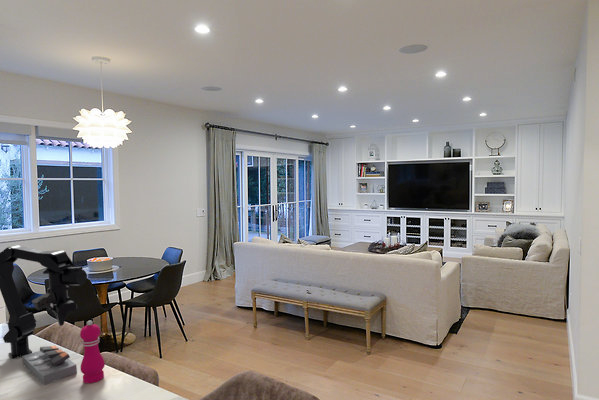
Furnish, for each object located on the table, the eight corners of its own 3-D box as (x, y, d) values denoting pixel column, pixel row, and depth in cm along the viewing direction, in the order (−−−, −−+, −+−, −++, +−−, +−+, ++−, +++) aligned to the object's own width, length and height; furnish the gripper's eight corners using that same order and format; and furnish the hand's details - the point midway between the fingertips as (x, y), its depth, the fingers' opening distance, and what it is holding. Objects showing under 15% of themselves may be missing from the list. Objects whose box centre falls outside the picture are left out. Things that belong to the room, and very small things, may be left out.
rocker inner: (39, 352, 148) (40, 346, 148) (53, 351, 152) (55, 345, 152) (42, 355, 145) (43, 349, 146) (57, 354, 149) (58, 348, 149)
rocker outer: (51, 365, 140) (49, 359, 140) (66, 356, 144) (64, 351, 143) (55, 368, 138) (53, 363, 137) (70, 359, 141) (68, 354, 141)
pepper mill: (95, 385, 130) (91, 324, 129) (76, 383, 132) (71, 324, 131) (110, 374, 137) (106, 317, 136) (91, 372, 139) (87, 316, 138)
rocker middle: (44, 358, 144) (45, 351, 144) (59, 354, 148) (60, 348, 148) (48, 361, 141) (48, 354, 141) (63, 357, 145) (64, 351, 145)
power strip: (22, 364, 148) (22, 355, 147) (53, 354, 155) (52, 346, 155) (44, 384, 132) (43, 375, 131) (76, 373, 139) (76, 363, 139)
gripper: (25, 285, 152) (29, 326, 153) (41, 294, 139) (45, 338, 140) (58, 279, 160) (61, 317, 161) (76, 286, 148) (79, 328, 149)
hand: (61, 325), depth 152 cm, fingers closed
